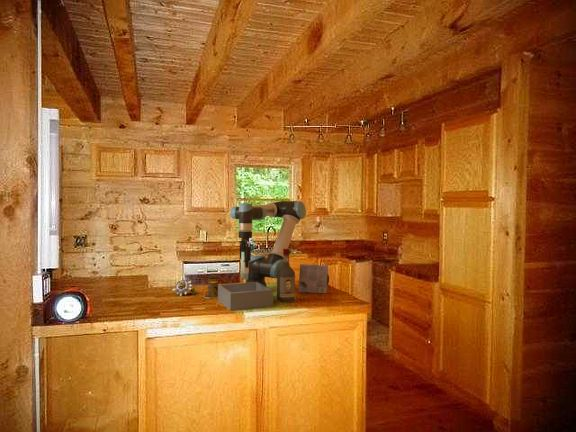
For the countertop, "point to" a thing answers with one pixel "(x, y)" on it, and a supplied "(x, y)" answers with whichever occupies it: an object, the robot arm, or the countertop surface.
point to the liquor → (286, 280)
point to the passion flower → (183, 287)
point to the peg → (243, 276)
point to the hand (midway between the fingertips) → (244, 272)
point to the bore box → (245, 296)
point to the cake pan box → (313, 278)
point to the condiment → (212, 287)
